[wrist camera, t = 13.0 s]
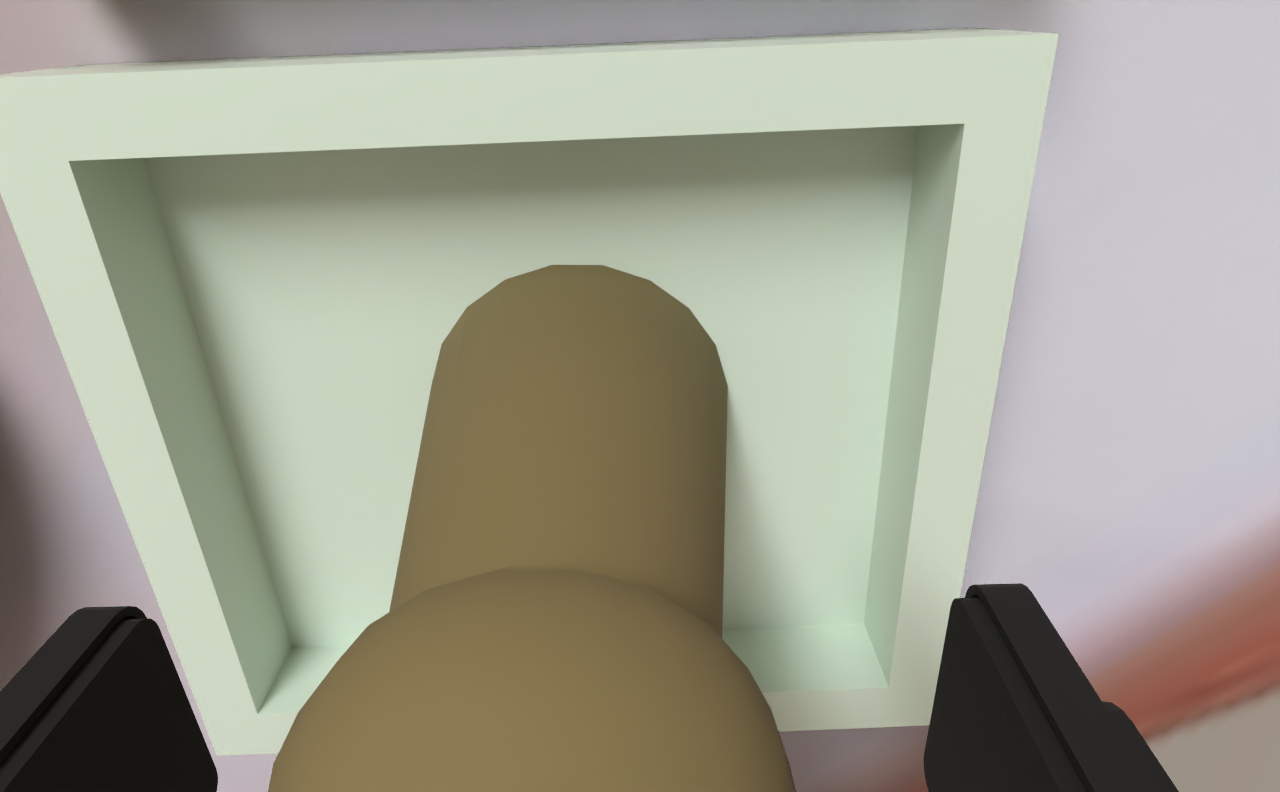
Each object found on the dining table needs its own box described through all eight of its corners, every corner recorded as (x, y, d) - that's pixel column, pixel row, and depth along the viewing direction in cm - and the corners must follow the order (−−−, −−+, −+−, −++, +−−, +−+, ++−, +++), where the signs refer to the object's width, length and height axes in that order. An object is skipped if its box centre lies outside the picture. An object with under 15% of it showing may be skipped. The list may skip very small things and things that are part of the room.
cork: (471, 545, 18) (283, 1216, 8) (395, 288, 15) (-25, 815, 5) (741, 509, 18) (893, 1156, 8) (711, 240, 15) (887, 705, 5)
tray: (976, 27, 14) (1058, 33, 12) (895, 630, 21) (937, 724, 18) (82, 65, 14) (-43, 79, 12) (270, 656, 20) (216, 756, 18)
